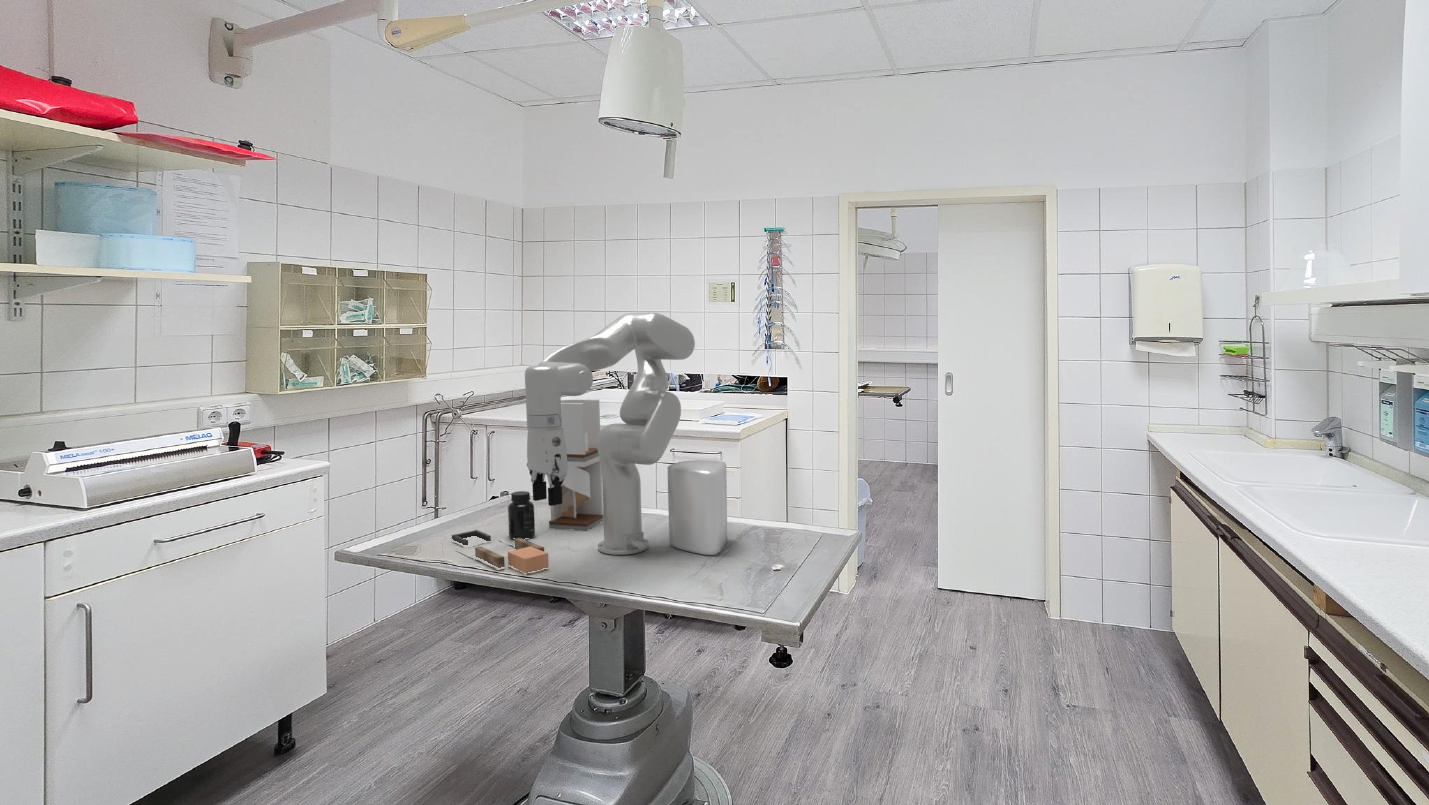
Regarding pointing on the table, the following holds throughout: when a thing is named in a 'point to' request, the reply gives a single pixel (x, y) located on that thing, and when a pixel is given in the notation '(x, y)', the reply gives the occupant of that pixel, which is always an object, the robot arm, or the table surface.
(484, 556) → the channel
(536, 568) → the block
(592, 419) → the display case
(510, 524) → the supplement bottle
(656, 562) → the table surface
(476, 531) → the black u-shaped bracket
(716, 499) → the grey rounded upright block
